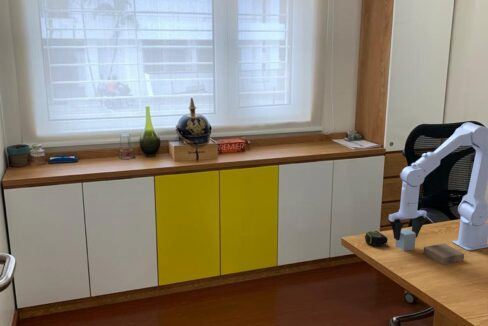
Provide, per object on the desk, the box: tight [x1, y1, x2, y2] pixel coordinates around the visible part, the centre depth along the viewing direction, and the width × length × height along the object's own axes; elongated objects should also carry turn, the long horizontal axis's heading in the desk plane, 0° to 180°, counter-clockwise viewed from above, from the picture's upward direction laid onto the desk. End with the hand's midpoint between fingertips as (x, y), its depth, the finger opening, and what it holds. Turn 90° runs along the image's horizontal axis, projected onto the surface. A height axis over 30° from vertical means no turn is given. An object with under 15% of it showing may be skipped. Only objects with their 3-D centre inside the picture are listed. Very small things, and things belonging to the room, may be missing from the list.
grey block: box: [395, 228, 416, 252], centre depth 173 cm, size 5×5×6 cm
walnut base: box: [422, 243, 465, 266], centre depth 165 cm, size 9×9×3 cm
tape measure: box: [364, 230, 389, 246], centre depth 176 cm, size 7×7×4 cm
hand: (405, 237), depth 172 cm, fingers open, 7 cm apart
